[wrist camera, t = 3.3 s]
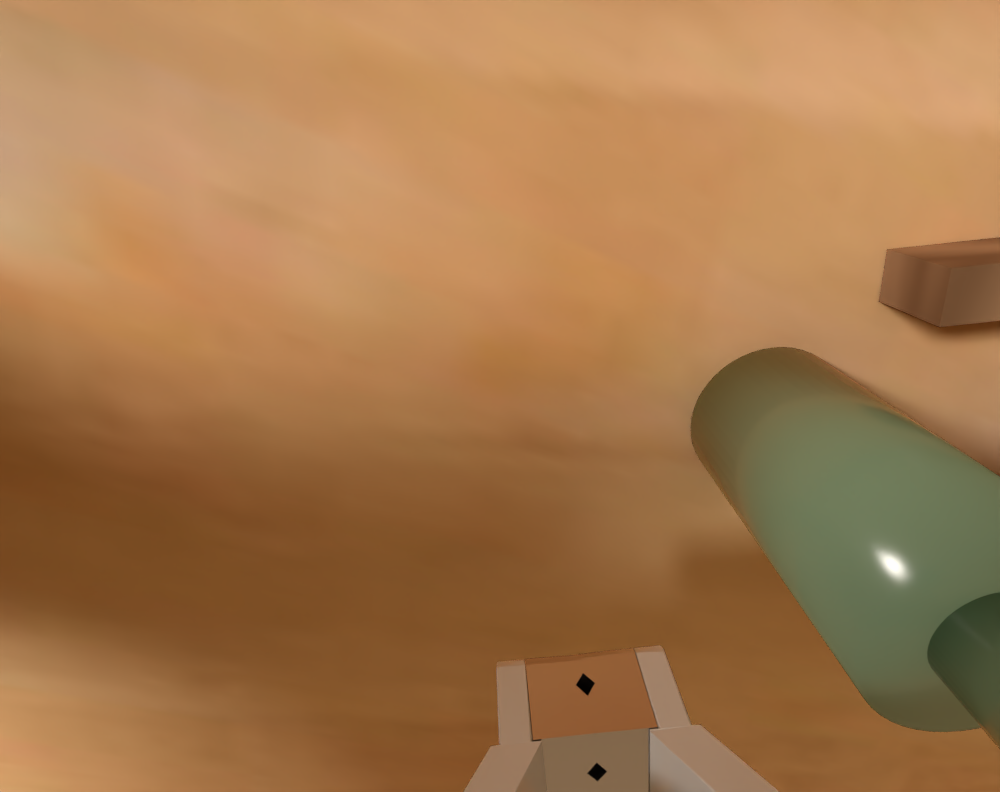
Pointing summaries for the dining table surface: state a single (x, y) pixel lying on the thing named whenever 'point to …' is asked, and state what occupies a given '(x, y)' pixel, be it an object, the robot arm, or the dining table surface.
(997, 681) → the bottle
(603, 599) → the dining table surface
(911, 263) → the cradle
